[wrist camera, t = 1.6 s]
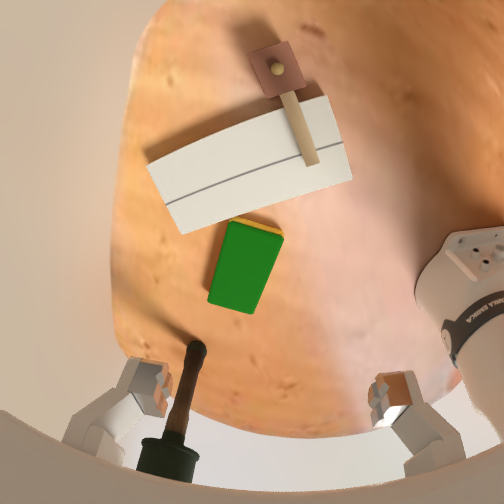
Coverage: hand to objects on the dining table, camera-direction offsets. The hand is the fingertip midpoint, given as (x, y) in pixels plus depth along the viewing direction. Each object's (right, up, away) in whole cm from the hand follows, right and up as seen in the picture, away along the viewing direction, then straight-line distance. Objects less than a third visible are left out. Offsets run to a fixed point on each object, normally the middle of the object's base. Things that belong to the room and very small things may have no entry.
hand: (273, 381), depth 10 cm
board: (-1, +15, +23) cm, 27 cm away
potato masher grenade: (-11, -12, +41) cm, 44 cm away
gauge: (+3, +21, +19) cm, 28 cm away
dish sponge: (-2, +3, +31) cm, 31 cm away
